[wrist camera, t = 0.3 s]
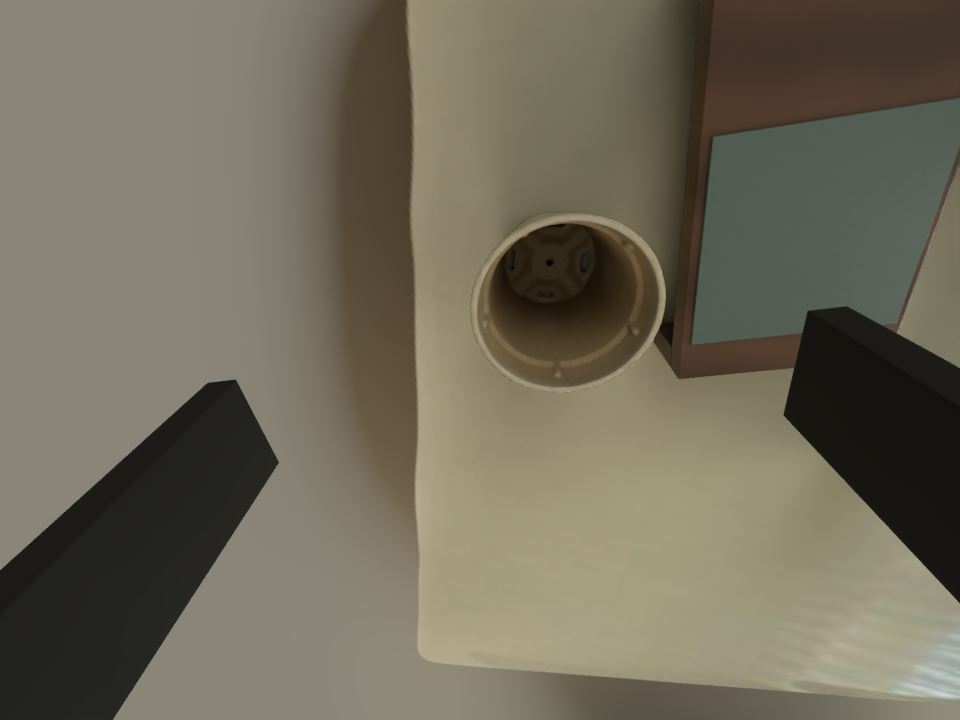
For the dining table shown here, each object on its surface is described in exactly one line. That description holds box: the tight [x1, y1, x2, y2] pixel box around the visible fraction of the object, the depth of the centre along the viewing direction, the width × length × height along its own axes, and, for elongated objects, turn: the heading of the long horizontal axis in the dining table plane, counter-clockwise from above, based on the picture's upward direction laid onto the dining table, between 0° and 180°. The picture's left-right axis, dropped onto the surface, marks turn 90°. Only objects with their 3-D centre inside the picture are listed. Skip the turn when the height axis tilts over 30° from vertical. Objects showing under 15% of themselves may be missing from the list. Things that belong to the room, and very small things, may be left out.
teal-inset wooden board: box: [654, 0, 960, 379], centre depth 23 cm, size 22×12×5 cm, turn 9°
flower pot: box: [470, 212, 666, 393], centre depth 25 cm, size 9×9×9 cm
